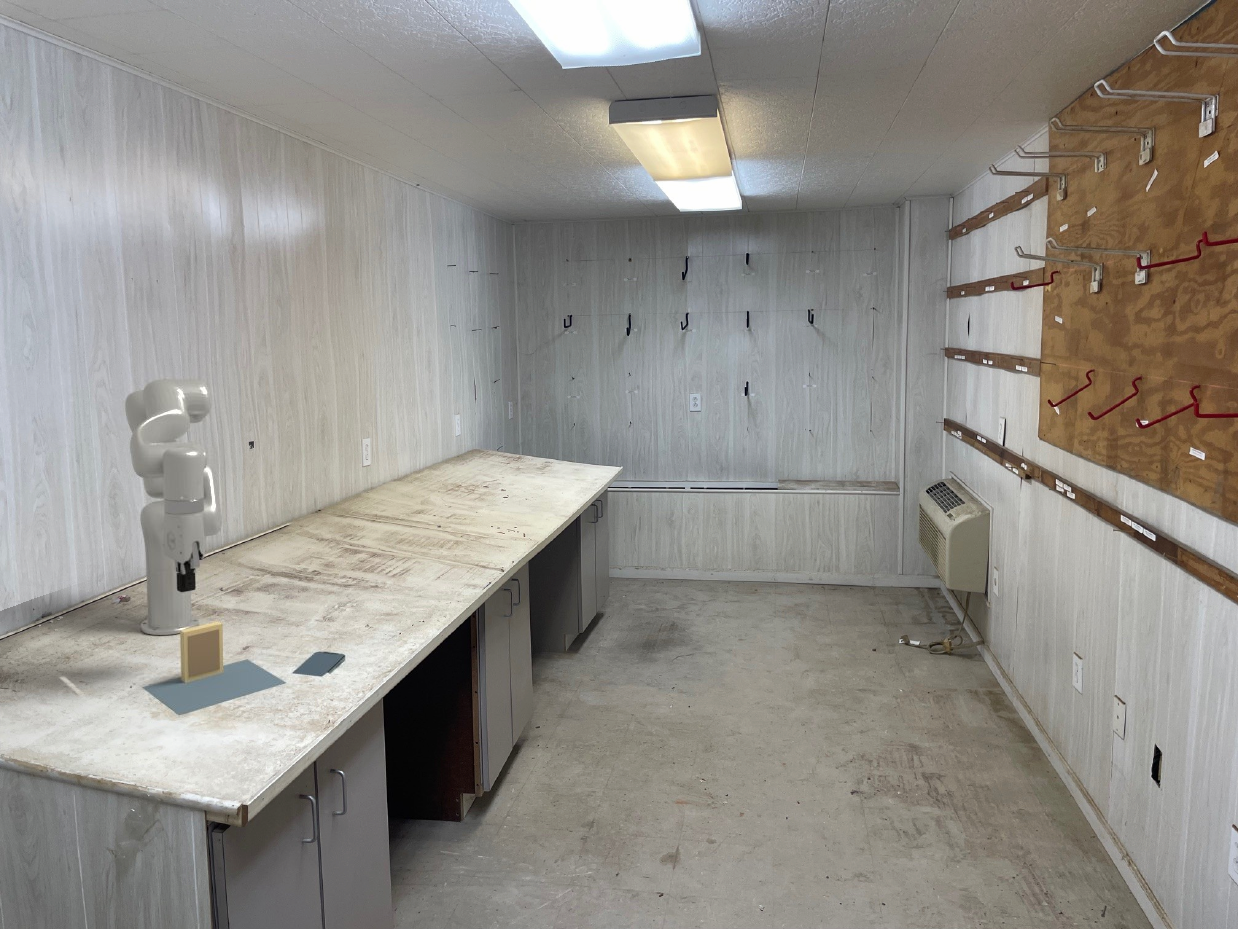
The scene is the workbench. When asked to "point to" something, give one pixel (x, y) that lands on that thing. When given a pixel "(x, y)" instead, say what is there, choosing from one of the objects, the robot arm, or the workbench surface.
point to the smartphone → (320, 664)
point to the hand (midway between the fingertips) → (186, 590)
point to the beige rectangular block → (201, 651)
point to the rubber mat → (214, 687)
